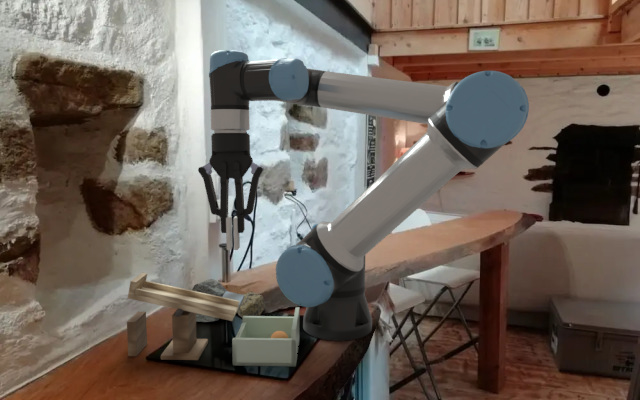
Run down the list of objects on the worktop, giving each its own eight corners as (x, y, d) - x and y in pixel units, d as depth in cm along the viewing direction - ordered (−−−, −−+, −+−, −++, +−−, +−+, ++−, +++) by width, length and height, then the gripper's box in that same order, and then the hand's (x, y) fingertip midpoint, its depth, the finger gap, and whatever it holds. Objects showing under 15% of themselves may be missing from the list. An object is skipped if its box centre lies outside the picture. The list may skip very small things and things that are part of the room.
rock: (272, 315, 118) (271, 297, 118) (240, 321, 115) (239, 302, 114) (260, 306, 125) (260, 288, 124) (230, 311, 121) (229, 293, 120)
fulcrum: (208, 342, 102) (207, 303, 101) (197, 360, 94) (196, 318, 93) (141, 341, 102) (139, 302, 101) (125, 359, 95) (124, 317, 93)
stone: (193, 281, 110) (223, 269, 119) (169, 303, 115) (199, 291, 123) (216, 318, 108) (244, 303, 117) (190, 339, 113) (219, 324, 121)
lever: (242, 303, 107) (246, 283, 107) (230, 328, 93) (234, 305, 93) (150, 283, 107) (154, 263, 106) (124, 305, 93) (128, 282, 93)
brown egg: (269, 330, 99) (273, 347, 100) (267, 337, 96) (271, 354, 96) (286, 326, 99) (291, 343, 100) (285, 333, 96) (289, 350, 96)
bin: (299, 339, 104) (299, 307, 103) (295, 366, 92) (295, 329, 91) (243, 339, 104) (243, 306, 103) (232, 365, 92) (232, 328, 91)
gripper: (267, 132, 104) (268, 244, 107) (199, 132, 104) (203, 244, 106) (263, 131, 96) (265, 252, 99) (191, 132, 96) (195, 252, 99)
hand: (233, 248), depth 103 cm, fingers closed
